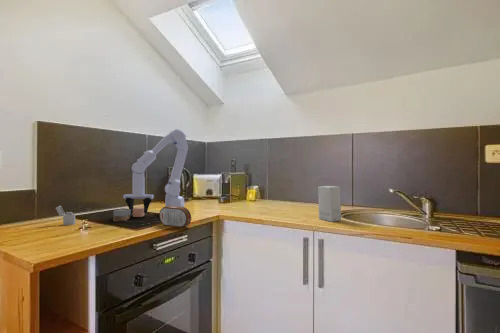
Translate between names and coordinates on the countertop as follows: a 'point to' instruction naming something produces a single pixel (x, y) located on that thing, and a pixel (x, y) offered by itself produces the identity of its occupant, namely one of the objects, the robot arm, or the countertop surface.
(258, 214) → the countertop surface
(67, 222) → the lighter
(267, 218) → the countertop surface
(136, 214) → the terracotta cube
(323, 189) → the skincare box
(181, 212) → the tin
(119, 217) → the walnut slab
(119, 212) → the charcoal slab
